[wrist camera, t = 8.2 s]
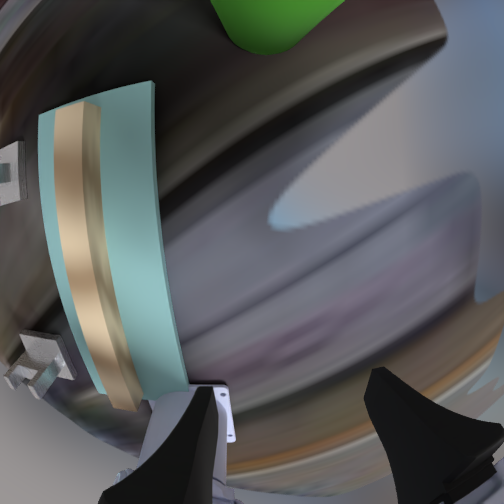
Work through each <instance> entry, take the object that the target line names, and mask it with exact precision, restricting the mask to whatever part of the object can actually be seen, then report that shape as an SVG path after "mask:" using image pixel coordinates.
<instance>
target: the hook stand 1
mask: <svg viewBox="0 0 504 504" xmlns="http://www.w3.org/2000/svg"><path fill="white" fill-rule="evenodd" d="M23 199H27V187H26V171H25V141H16V142H14V143H12V144H10V145H8V146H6V147H4V148H2V149H0V206H2V205H5V204H9V203H12V202H16V201H19V200H23Z"/></svg>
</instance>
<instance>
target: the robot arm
mask: <svg viewBox="0 0 504 504" xmlns="http://www.w3.org/2000/svg"><path fill="white" fill-rule="evenodd" d="M188 389H189V392H184V391H178V392H170V393H167V394H164V395H162V396H160V397H159V398H158V399H157V400H156V401H154V400H148V401H149V404H150V406H151V408H152V415H151V418H150V421H149V425H148V428H147V432H146V435H145V439H144V442H143V446H142V449H141V453H140V457H139V461H138V464H137V468H136V470H135V471H134V470H132V469H129V468H128V469H126V470H124V471H121V472H119V473H118V475H117V476H116V479H115V481H114V483H113V486H111V487H110V488H108V489H106V490H105V491H103V493H102V495H101V497H100V499H99V501H98V504H244V503H243V502H241V501H240V500H238V499H234V489H233V488H229V487H226V458H227V442H234V441H236V436H235V430H234V424H233V417H232V411H231V404H230V397H229V390H228V387H227V386H226V385H192V384H189V385H188ZM223 393H224V394H223ZM364 401H365V405H366V408H367V411H368V414H369V417H370V419H371V421H372V423H373V425H374V427H375V429H376V432H377V434H378V436H379V438H380V440H381V442H382V444H383V446H384V448H385V451H386V453H387V456H388V459H389V463H390V466H391V470H392V473H393V478H394V482H395V486H396V492H397V497H398V504H504V457H503V458H502V459H501V460H500V461H498V462H497V463H496V464H495V465H494V466H493V464H492V462H493V461H494V458H493V456H492V455H493V453H495V451H496V450H497V449H498V448H499V447H500V446H501V445H502V444H503V442H504V428H503V427H502V426H501V424H499V423H492V422H485V421H480V420H476V419H472V418H469V417H466V416H463V415H460V414H458V413H455V412H453V411H450V410H448V409H446V408H444V407H442V406H440V405H438V404H436V403H434V402H433V401H431V400H429V399H428V398H426V397H425V396H423V395H422V394H420V393H419V392H417V391H416V390H414V389H413V388H411V387H410V386H409V385H407V384H406V383H405V382H403V381H402V380H401V379H399V378H398V377H397V376H396V375H394V374H393V373H392V372H390V371H389V370H388V369H386V368H385V367H379V368H375V369H372V372H371V375H370V379H369V382H368V385H367V389H366V392H365V395H364Z"/></svg>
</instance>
